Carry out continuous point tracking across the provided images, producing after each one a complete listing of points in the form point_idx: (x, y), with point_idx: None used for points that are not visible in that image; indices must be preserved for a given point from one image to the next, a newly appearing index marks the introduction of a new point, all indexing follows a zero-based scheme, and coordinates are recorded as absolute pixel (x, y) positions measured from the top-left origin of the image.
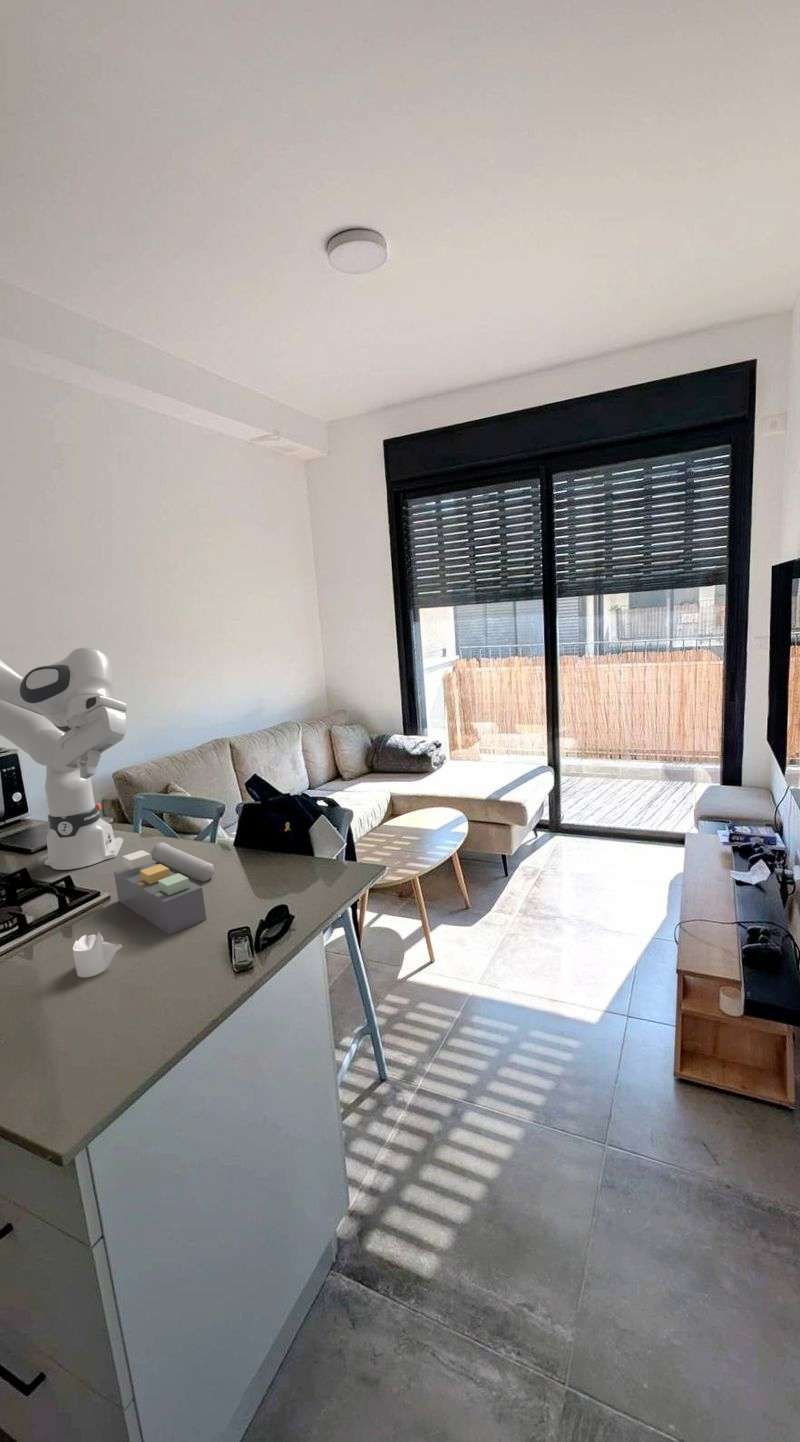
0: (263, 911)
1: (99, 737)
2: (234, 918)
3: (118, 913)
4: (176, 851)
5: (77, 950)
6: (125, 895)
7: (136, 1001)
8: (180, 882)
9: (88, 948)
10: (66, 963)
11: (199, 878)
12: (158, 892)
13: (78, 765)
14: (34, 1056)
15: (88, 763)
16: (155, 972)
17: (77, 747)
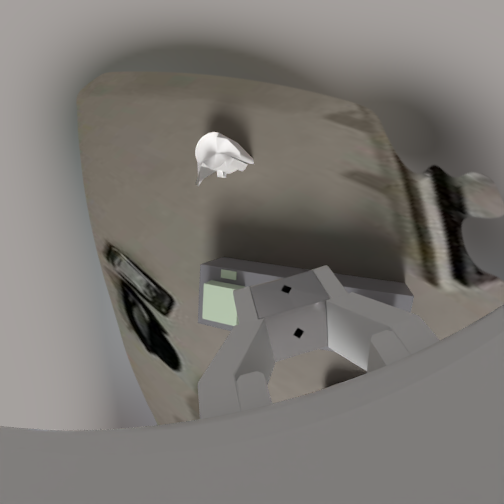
0: (181, 350)
1: (5, 445)
2: (193, 324)
3: (359, 257)
4: None
5: (212, 136)
6: (370, 282)
7: (138, 164)
8: (203, 304)
9: (221, 152)
10: (271, 141)
11: (332, 385)
12: (235, 278)
13: (383, 310)
14: (144, 85)
15: (233, 328)
16: (163, 199)
17: (448, 432)
